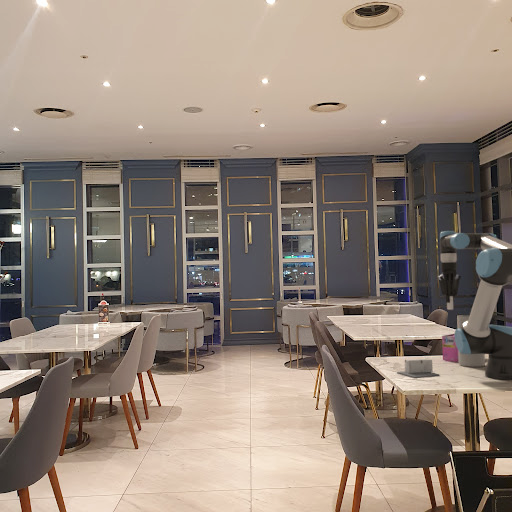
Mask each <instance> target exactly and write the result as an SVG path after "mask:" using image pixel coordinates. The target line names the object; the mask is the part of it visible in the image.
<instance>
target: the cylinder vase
mask: <svg viewBox="0 0 512 512" xmlns="http://www.w3.org/2000/svg"><path fill="white" fill-rule="evenodd" d="M469 316H470V315H457V316H456V317H457V318H456V321H457V324H456V325H457V328H456V329H458V328H462V326H463V324H464V322H465V321H467V320H469ZM458 358H459V361H458V364H459V366H462V367H466V368H467V367H468V368H480V367H484V366H485V365H486V354H471V355H469V354H462V353H460V352H459V350H458Z"/></svg>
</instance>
